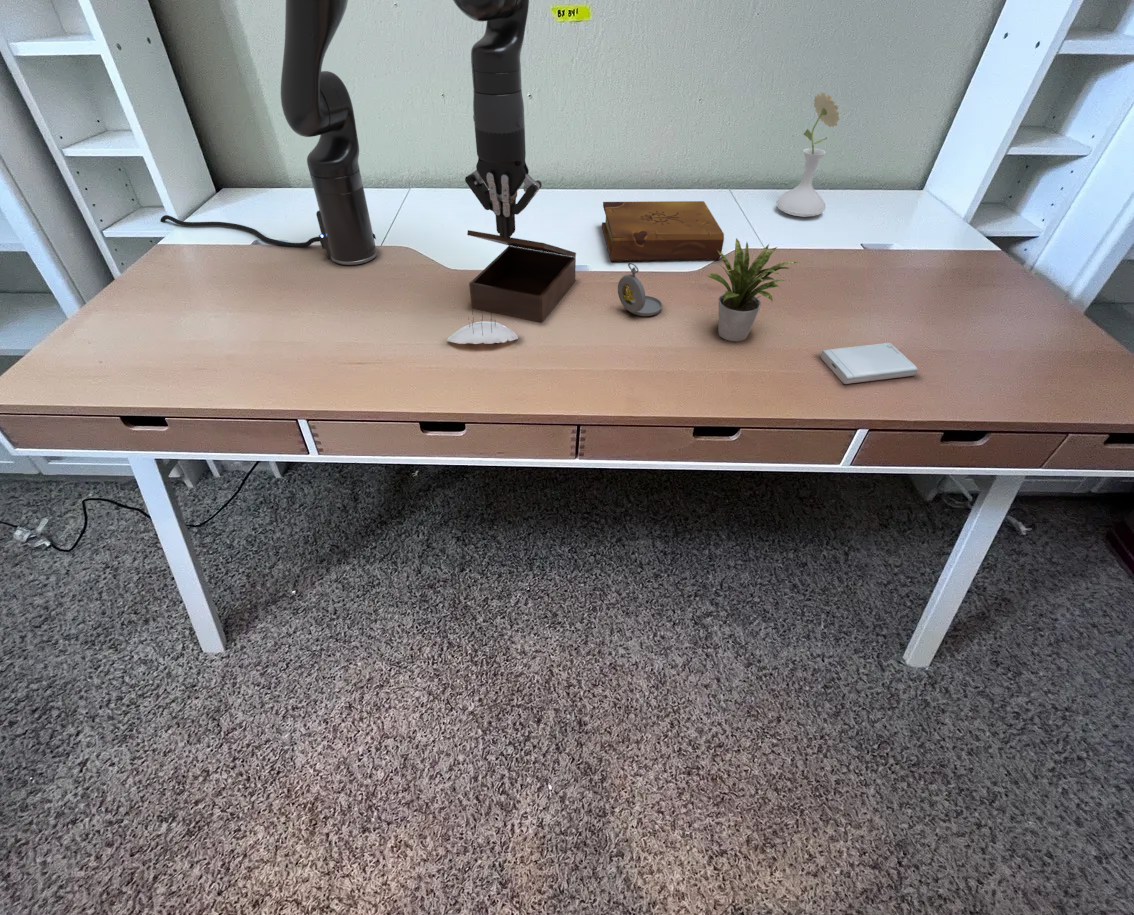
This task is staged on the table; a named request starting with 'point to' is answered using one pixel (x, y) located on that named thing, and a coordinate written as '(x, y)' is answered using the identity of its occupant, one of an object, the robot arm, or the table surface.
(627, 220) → the diary
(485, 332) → the pincushion
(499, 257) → the box
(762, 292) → the house plant
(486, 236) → the lid
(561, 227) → the table surface
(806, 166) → the flower in vase
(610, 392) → the table surface
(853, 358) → the hard drive
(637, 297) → the pocket watch
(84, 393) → the table surface
